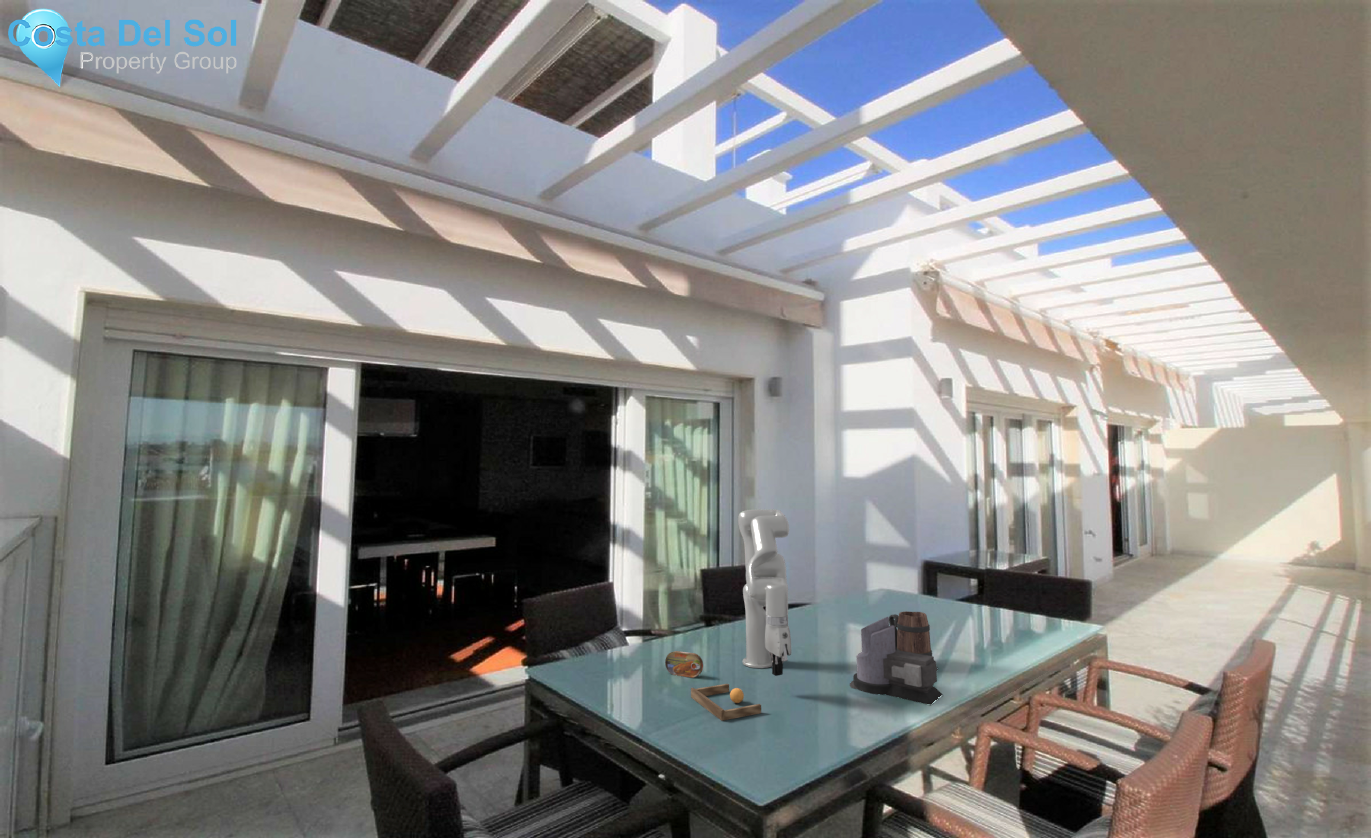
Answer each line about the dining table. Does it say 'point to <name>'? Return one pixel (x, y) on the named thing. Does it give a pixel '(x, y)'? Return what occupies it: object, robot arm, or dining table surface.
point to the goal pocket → (716, 710)
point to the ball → (736, 695)
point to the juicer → (893, 667)
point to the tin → (684, 664)
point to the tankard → (912, 632)
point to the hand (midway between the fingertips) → (777, 674)
